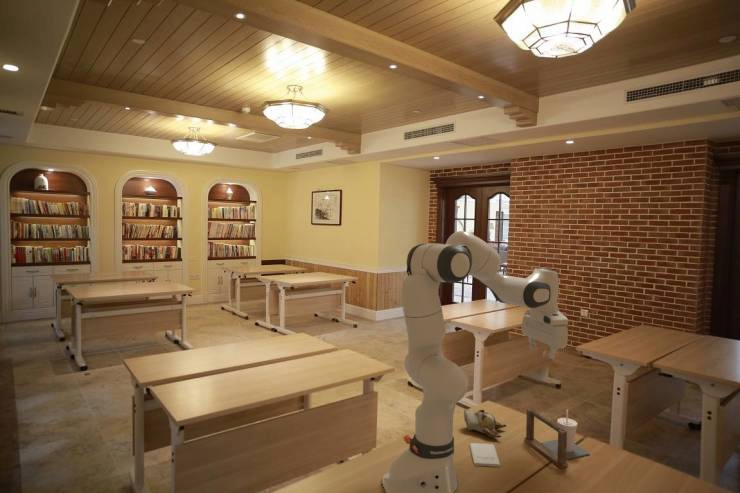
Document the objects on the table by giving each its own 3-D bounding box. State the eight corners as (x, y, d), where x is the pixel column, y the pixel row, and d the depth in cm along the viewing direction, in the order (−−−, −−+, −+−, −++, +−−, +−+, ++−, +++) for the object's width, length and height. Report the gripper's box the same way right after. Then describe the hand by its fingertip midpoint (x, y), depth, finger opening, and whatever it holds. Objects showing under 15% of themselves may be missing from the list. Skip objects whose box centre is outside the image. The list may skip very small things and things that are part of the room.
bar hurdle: (559, 468, 142) (560, 432, 141) (524, 440, 159) (525, 408, 158) (567, 466, 143) (568, 431, 142) (531, 439, 160) (532, 407, 159)
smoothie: (554, 450, 152) (555, 410, 151) (559, 442, 157) (560, 403, 156) (574, 456, 148) (575, 415, 147) (578, 448, 153) (580, 408, 152)
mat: (562, 460, 146) (562, 458, 146) (540, 444, 157) (540, 442, 157) (589, 455, 150) (589, 453, 150) (566, 439, 160) (566, 437, 160)
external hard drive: (493, 448, 155) (500, 468, 143) (469, 447, 156) (474, 467, 144) (494, 444, 155) (500, 464, 143) (469, 442, 156) (474, 462, 143)
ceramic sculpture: (468, 399, 173) (508, 409, 166) (466, 421, 174) (506, 432, 167) (460, 410, 164) (502, 421, 157) (458, 433, 165) (500, 445, 158)
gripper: (517, 309, 164) (516, 346, 165) (555, 321, 145) (553, 363, 145) (532, 308, 166) (531, 345, 167) (572, 320, 146) (570, 362, 147)
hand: (542, 353), depth 156 cm, fingers open, 8 cm apart
